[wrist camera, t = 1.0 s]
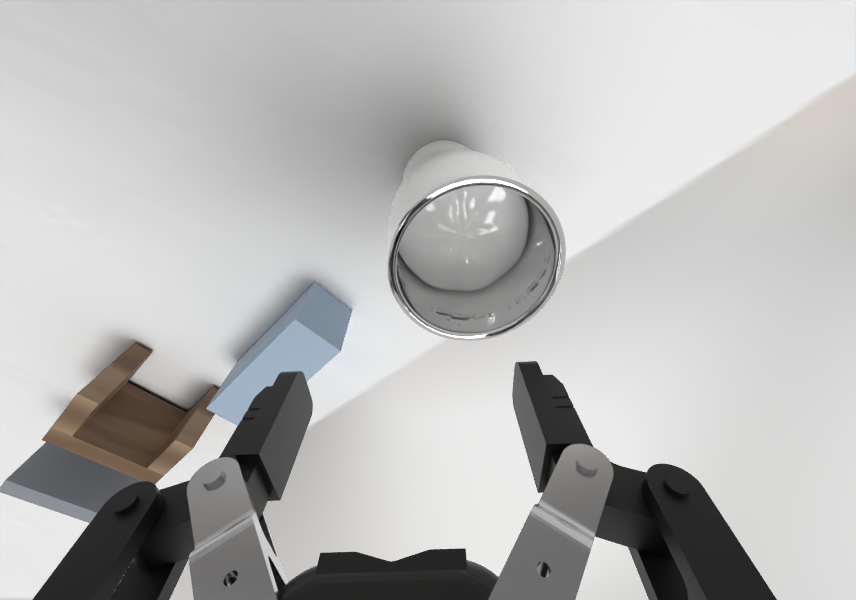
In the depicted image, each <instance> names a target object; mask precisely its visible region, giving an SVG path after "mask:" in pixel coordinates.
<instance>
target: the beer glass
mask: <svg viewBox="0 0 856 600" xmlns="http://www.w3.org/2000/svg"><path fill="white" fill-rule="evenodd" d="M387 255H388V257H387V273H388V279H389V284H390V287H391V290H392V293H393V295H394V297H395V299H396V301H397V303H398V304H399V306H400V307H401V309H402V310H403V311H404V313H405V314H406V315H407V316H408V317H409V318H410V319H411V320H412V321H414V322H415V323H416V324H417V325H419V326H420V327H422V328H423V329H425V330H427V331H429V332H431V333H433V334H436V335H438V336H441V337H445V338H449V339H454V340H465V341H472V340H483V339H489V338H493V337H496V336H500V335H503V334H505V333H508V332H510V331H512V330H514V329H516V328H518V327H519V326H521V325H523V324H524V323H526V322H527V321H529V320H530V319H531V318H532V317H534V316H535V315H536V314H537V313H538V312H539V311H540V310H541V309H542V308H543V307H544V306H545V304H546V303H547V302H548V301H549V299H550V298H551V296H552V295H553V293H554V291H555V290H556V287H557V286H558V284H559V281H560V279H561V276H562V273H563V269H564V264H565V256H566V246H565V238H564V233H563V229H562V226H561V223H560V221H559V219H558V217H557V215H556V213H555V212H554V210H553V209H552V207H551V206H550V204H549V203H548V202H547V201H546V200H545V199H544V198H543V197H542V196H541V195H540V194H539V193H537V192H536V191H535V190H534V188H533V187H532V186H531V185H530V184H529V183H528V182H527V181H526V180H525V179H524V178H523V177H522V176H521V175H520V174H519V173H517V172H516V171H515V170H514V169H512V168H511V167H510V166H508V165H507V164H505V163H504V162H502V161H500V160H498V159H496V158H494V157H492V156H490V155H487V154H485V153H482V152H478V151H473V150H469V149H468V148H467V147H465V146H464V145H462V144H460V143H457V142H454V141H449V140H440V141H435V142H431V143H429V144H427V145H425V146H423V147H421V148H420V149H419V150H417V151H416V152H415V153H414V154H413V155H412V157H411V158H410V159H409V161H408V163H407V165H406V167H405V169H404V173H403V177H402V183H401V185H400V186H399V188H398V190H397V192H396V194H395V197H394V199H393V203H392V206H391V209H390V213H389V218H388V227H387Z"/></svg>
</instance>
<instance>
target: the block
mask: <svg viewBox="0 0 856 600" xmlns="http://www.w3.org/2000/svg"><path fill="white" fill-rule="evenodd" d="M151 353H152V352H150V351H148V350H147V349H145V348H143V347H141V346H140V345H138V344H136V343H135V344H134V345H132V346H131V347H130V348H129V349H128V350H127V351H126V352H124V353H123V354H122V355H121V356H120V357H119V358H118V359H116V360H115V361H114V362H113V363H112V364H111V365H109V366H108V367H107V368H106V369H105V370H104V371H103V372H101V373H100V374H99V375H98V376H97V377H96V378H95V379H93V380H92V381H91V382H90V383H89V384H88V385H87V386H85V387H84V388H83V389H82V390H81V391H80V392H79V393H77V395H76V396H75V397H74V398H73V400H72V401H71V402H70V404H69V405H68V406H67V408H66V409H65V410H64V411H63V413H62V414H61V415H60V417H59V418H58V419H57V421H56V422H55V423H54V425H53V426H52V427H51V428H50V430H49V431H48V432H47V434H46V435H45V436H44V438H43V439H42V440H43V441H46V442H48V443H51V444H53V445H55V446H58V447H60V448H63V449H65V450H68V451H70V452H73V453H75V454H77V455H80V456H82V457H85V458H87V459H90V460H92V461H94V462H97V463H99V464H102V465H104V466H107V467H109V468H112V469H114V470H116V471H119V472H121V473H124V474H126V475H129V476H131V477H133V478H136V479H138V480H141V481H149V482H152V483H154V484H156V483H157V482H158V481H159V480H160V479H161V478H162V477H163V476H164V475H165V474H166V473H167V472H168V471H169V470H170V469H171V468H173V467H174V466H175V465H176V464H177V463H178V462H179V461H180V460H181V459H182V458H183V457H184V456H185V455H186V454H187V453H189V452H190V451H191V450H192V449H193V447H194V446H195V444H196V443H197V441H198V440H199V438H200V436H201V435H202V433H203V432H204V430H205V428H206V427H207V425H208V424H209V422H210V420H211V419H212V417H213V416H214V414H215V413H213V412H211V411H209V410H207V409H206V408H207V406H208V405H209V403H210V402H211V400H212V399H213V397H214V396H215V394H216V393H217V391H218V389H216V388H215V387H212V388H211V389H210V390H209V391H208V392H207V393H206V394H205V395H204V396H203V397H202V398H201V399H200V400H199V401H198V402H197V403H196V404H195V405H194V406H193V407H192V408H191V409H190V410H189V411H188V412H185V411H183V410H181V409H179V408H177V407H175V406H173V405H171V404H169V403H167V402H165V401H163V400H161V399H159V398H157V397H155V396H153V395H151V394H149V393H147V392H146V391H144V390H142V389H140V388H138V387H136V386H134V385H132V384H130V383H128V380H129V379H130V378H131V377H132V376H133V374H134V373H135V372H136V371H137V370H138V368H139V367H140V366H141V365H142V364H143V362H144V361H145V360H146V359H147V358H148V356H149V355H150V354H151Z"/></svg>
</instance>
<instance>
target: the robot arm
mask: <svg viewBox="0 0 856 600" xmlns="http://www.w3.org/2000/svg"><path fill="white" fill-rule="evenodd" d="M513 405H514V409H515V413H516V417H517V420H518V424H519V427H520V431H521V434H522V438H523V442H524V445H525V448H526V452H527V455H528V459H529V463H530V466H531V470H532V473H533V476H534V480H535V484H536V487H537V491H538V493H540V492H544V493H543V495H542V497H541V499H540V501H539V503H538V504H537V505H534V507H533V508H532V510H531V512H530V514H529V516H528V518H527V520H526V522H525V524H524V527H523V528H522V530H521V532H520V534H519V537H518V539H517V541H516V543H515V545H514V547H513V549H512V551H511V553H510V555H509V558H508V559H507V562H506V564H505V566H504V568H503V570H502V572H501V574H500V576H499V577H498V576H496V575H495V574H494V573H492V572H491V571H490V570H488V569H486V568H485V567H483V566H481V565H479V564H477V563H474V562H471V561H468V560H466V550H465V549H434V550H427V551H424V552H421V553H418V554H415V555H412V556H409V557H406V558H403V559H400V560H397V561H392V562H390V561H386V560H382V559H379V558H375V557H372V556H368V555H364V554H361V553H358V552H335V553H320V557H319V561H318V565H317V566H315V567H313V568H310V569H308V570H306V571H304V572H303V573H301V574H299V575H298V576H296V577H295V578H294V579H292V580H291V581H290V582H289V581H288V578H287V576H286V574H285V571H284V569H283V567H282V564H281V561H280V558H279V555H278V552H277V549H276V546H275V543H274V540H273V538H272V535H271V532H270V529H269V526H268V523H267V520H266V517H265V514H264V512H263V511H264V508H265V506H266V503H267V501H274V500H280V499H281V497H282V494H283V491H284V489H285V486H286V483H287V481H288V478H289V475H290V473H291V470H292V467H293V464H294V462H295V459H296V456H297V453H298V451H299V448H300V446H301V443H302V440H303V437H304V434H305V432H306V429H307V427H308V424H309V421H310V418H311V415H312V409H313V404H312V398H311V395H310V392H309V389H308V385H307V382H306V379H305V376H304V373H303V372H302V371H290V372H281V373H279V375H278V376H277V378H276V380H275V382H274V384H273V386H266V387H265V388H264V389H263V390H262V391H261V392H260V393H259V394H257V395H256V396H255V397H254V399H253V401H252V403H251V404H250V406H249V408H248V411H246V413H245V414H244V416H243V418H242V421H240V423H239V425H238V426H237V428H236V430H235V432H234V433H233V435H232V437H231V438H230V440H229V442H228V443H227V445H226V447H225V449H224V450H223V452H222V454H221V455H220V457H219V458H218V459H215V460H213V461H210V462H209V463H207V464H205V465H204V466H202V467H201V468H200V469H199V470H198V471H197V472H196V473H195V474H194V475H193V476H192V478H191V479H190V480H189V481H187V482H183V483H180V484H177V485H174V486H171V487H168V488H165V489H161V490H159V489H158V488H157V487H156V485H155V484H154V483H152V482H149V481H142V482H137V483H134V484H131V485H129V486H127V487H125V488H123V489H122V490H120V491H119V492H117V493H116V494H114V495H113V496H112V497H111V498H110V499H109V500H108V501H107V502H106V503H105V504H104V505H103V506H102V508H101V509H100V510H99V512H98V513H97V514H96V516H95V517H94V518H93V520H92V521H91V522H90V524H89V525H88V526H87V528H86V529H85V530H84V532H83V533H82V534H81V536H80V537H79V538H78V540H77V541H76V542H75V544H74V545H73V546H72V548H71V549H70V550H69V552H68V553H67V554H66V556H65V557H64V558H63V560H62V561H61V562H60V564H59V565H58V566H57V568H56V569H55V570H54V572H53V573H52V574H51V576H50V577H49V578H48V580H47V581H46V582H45V584H44V585H43V586H42V588H41V589H40V590H39V592H38V593H37V595H36V596H35V597H34V599H33V600H169V599H170V597H171V595H172V593H173V590H174V588H175V586H176V584H177V582H178V580H179V578H180V576H181V574H182V571H183V569H184V567H185V565H186V563H187V561H188V559H189V565H190V573H191V581H192V589H193V596H194V600H575V599H576V595H577V592H578V589H579V586H580V583H581V580H582V576H583V573H584V570H585V567H586V564H587V560H588V557H589V554H590V551H591V547H592V544H593V541H594V537H595V536H596V537H599V538H602V539H605V540H608V541H611V542H615V543H618V544H621V545H624V546H627V547H628V548H629V550H630V553H631V555H632V558H633V560H634V563H635V565H636V568H637V570H638V573H639V575H640V578H641V581H642V583H643V585H644V588H645V590H646V593H647V596H648V598H649V600H777V599H776V598H775V596H774V595H773V593H772V592H771V590H770V589H769V587H768V586H767V584H766V583H765V581H764V580H763V578H762V576H761V575H760V573H759V572H758V570H757V569H756V567H755V566H754V564H753V563H752V561H751V559H750V558H749V556H748V555H747V554H746V552H745V550H744V549H743V547H742V546H741V544H740V543H739V541H738V540H737V538H736V537H735V535H734V533H733V532H732V531H731V529H730V527H729V526H728V524H727V523H726V521H725V520H724V518H723V517H722V515H721V514H720V512H719V510H718V509H717V507H716V506H715V504H714V503H713V501H712V500H711V498H710V497H709V495H708V494H707V492H706V491H705V489H704V488H703V486H702V485H701V484H700V483H699V481H698V480H697V479H696V478H694V477H693V476H692V475H691V474H689V473H688V472H686V471H685V470H683V469H681V468H679V467H676V466H673V465H669V464H656V465H653V466H652V467H650V468H649V470H648V471H647V473H646V472H642V471H638V470H633V469H630V468H626V467H622V466H619V465H616V464H614V463H612V462H610V461H609V459H608V458H607V457H606V456H605V455H604V454H603V453H602V452H600V451H599V450H597V449H596V448H594V447H593V445H592V443H591V442H590V439H589V437H588V435H587V433H586V431H585V429H584V427H583V425H582V423H581V421H580V419H579V417H578V415H577V412H576V411H575V409H574V408H573V404H572V402H571V400H570V399H569V396H568V394H567V392H566V390H565V387H564V386H563V384H562V383H561V382H560V381H559V380H558V379H557V378H555V377H554V376H553V375H543V374H542V372H541V370H540V367H539V365H538V363H537V362H536V361H531V362H516V364H515V370H514V382H513ZM130 563H131V564H130ZM129 565H130V566H129ZM126 570H127V571H126ZM123 575H124V576H123ZM120 580H121V581H120ZM117 585H118V586H117ZM116 587H117V588H116ZM114 590H115V591H114ZM113 592H114V593H113Z"/></svg>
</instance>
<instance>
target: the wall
mask: <svg viewBox="0 0 856 600" xmlns="http://www.w3.org/2000/svg"><path fill="white" fill-rule="evenodd" d="M137 482H142V481H141V480H138V479H136V478H133V477H131V476H129V475H126V474H124V473H121V472H119V471H116V470H114V469H112V468H109V467H107V466H104V465H102V464H99V463H97V462H94V461H92V460H90V459H87V458H85V457H82V456H80V455H77V454H75V453H73V452H70V451H68V450H65V449H63V448H60V447H58V446H55V445H53V444H51V443H48V442H46V443H45V444H44V445H43V446H42V447H41V448H40V449H38V450H37V451H36V452H35V453H34V454H33V455H32V456H31V457H30V458H29V459H28V460H27V461H26V462H24V463H23V464H22V465H21V466H20V467H19V468H18V469H17V470H16V471H15V472H14V473H13V474H12V475H11V476H9V477H8V478H7V479H6V480H5V482H4V483H3V484H2V486H1V487H0V492H1V493H4V494H7V495H10V496H13V497H16V498H19V499H22V500H25V501H27V502H30V503H33V504H36V505H39V506H42V507H45V508H48V509H51V510H54V511H56V512H59V513H62V514H65V515H68V516H71V517H74V518H77V519H80V520H83V521H86V522H88V523H90V522H91V521H92V520H93V518H94V517H95V516H96V514H97V513H98V512H99V510H100V509H101V508H102V506H103V505H104V504H105V503H106V502H107V501H108V500H109V499H110V498H111V497H112V496H113V495H114V494H116V493H117V492H119V491H120V490H122V489H123V488H125V487H127V486H129V485H131V484H134V483H137Z"/></svg>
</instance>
